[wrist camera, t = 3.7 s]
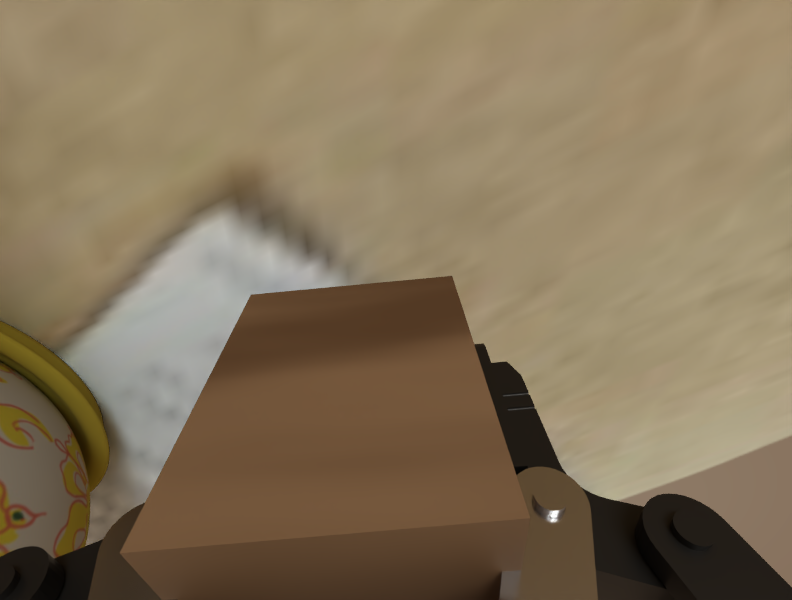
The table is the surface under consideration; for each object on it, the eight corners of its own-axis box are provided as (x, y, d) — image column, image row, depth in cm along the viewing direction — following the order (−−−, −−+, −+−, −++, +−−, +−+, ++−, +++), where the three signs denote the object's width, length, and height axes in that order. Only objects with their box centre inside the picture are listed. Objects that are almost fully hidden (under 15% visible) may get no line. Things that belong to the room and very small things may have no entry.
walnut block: (250, 294, 10) (119, 552, 5) (451, 276, 10) (530, 518, 5) (295, 429, 13) (240, 685, 8) (453, 415, 13) (505, 664, 7)
